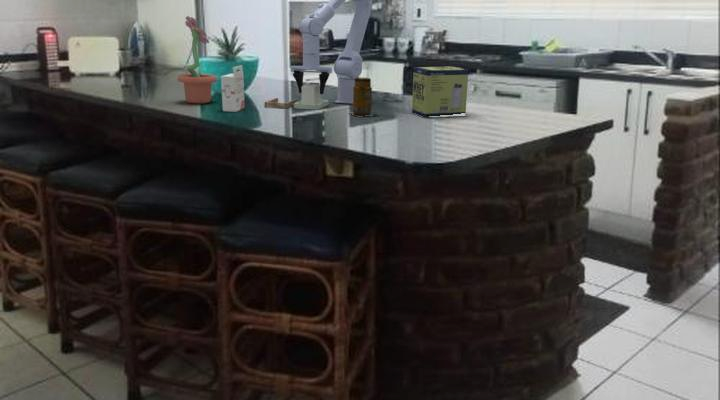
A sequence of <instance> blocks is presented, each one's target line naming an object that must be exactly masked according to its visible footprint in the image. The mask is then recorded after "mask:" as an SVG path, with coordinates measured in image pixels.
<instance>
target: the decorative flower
mask: <svg viewBox="0 0 720 400" xmlns="http://www.w3.org/2000/svg"><path fill="white" fill-rule="evenodd" d="M184 23H185V26H186V27H188V28H189V30H190V32H191V37H192V43H191V53H192V59H193V64H190V65H183V64H182V63H180V65H181V66H183V67H186V70H187V71H188V72H189V73H184V74H183V73H182V74H179V75H178V76H177V82H178V83H183V89H184V97H185V101H186V102H187V103H188V104H195V105H197V104H208V103H210V102H211V99H212V83H213V84H214V83H217V82H218V78H217V75H215V74H208V73H198V72H197V71H196V69H197V68H198V67H201V64H200V58H199V54H198V53H199V52H198V42H199V43H200V42H201V43H202V44H204V45H207V44H210V41H209V39H208V38H207V37H208V36H207V33H206V32H205V31H204V29H203V28H198V24H199V21H198V20H197V19H196V18H194V17H193V16H191V17H190V16H189V15H188V16H185V22H184Z"/></svg>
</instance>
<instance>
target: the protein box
mask: <svg viewBox="0 0 720 400" xmlns="http://www.w3.org/2000/svg"><path fill="white" fill-rule="evenodd" d="M412 81H413V82H412V83H413V84H412V98H411V99H412V100H411V102H412V103H411V104H412V105H411V113H412V112H413V113H416V114H418V115H421V116H423V117H429V116H440V115H453V114H461V113H466V112H467V97H468V96H467V95H468V82H469V69H467V68H462V67H458V66H453V65H451V66H450V65H449V66H423V67H422V66H413V78H412ZM413 113H412V114H413ZM416 114H415V115H416ZM466 114H467V113H466ZM418 115H417V116H418ZM421 116H420V117H421ZM423 117H422V118H423Z"/></svg>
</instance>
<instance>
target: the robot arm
mask: <svg viewBox="0 0 720 400" xmlns="http://www.w3.org/2000/svg"><path fill="white" fill-rule="evenodd" d="M345 1H347V0H329V1H328V2H327V3H326V2H323V3H319V4H317V8H316V9H315V10H314V11H313V12H312V13H310V14H309V17H306V18H305V17H304V18H303V19H302V20H301V22H300V24H299V26H298V30H299V32H300V34H301V39H302V65H291V66H290V73H291V72H292V76H293V79H294V80H295V82H296V85H297V88H298V93H299V94H302V86H304V76H305V75H304V73H318V78H319V84H320V94H321V95H323V94H324V92H325V87H326V84H327V82H328V80H329V77H330V74H332V73H333V72H334V73H335V74H336V78H337V99H336V100H334V103H336V104H351V105H353V88H354V86H355V78H360V76H361V75H362V71H363V60H364V59H363V58H362V56H361V55H360V53H361V52H360V51H361V49H362V45H363V42H364V38H365V33H366V30H367V26H368V22H369V19H370V16H371V12H372V7H373V0H350V2H351V3H352V4H354V6H355V10H354V15H353V18H352V21H351V25H350V29H349V31H348V37H347V40H346V43H345V47H344V50H343V51H341V52H340V53H339V54H338V58H337V59H336V61H334V64H333V66H332V67H329V66H320V35H321V34H322V33H323V31H324V27H325V25H326V24H327V23H328V22H329V21H330V20H331V19H332V18H333V17H334V16H335V10H336V9H338V8H339V7H340V6H342V4H343V3H345Z"/></svg>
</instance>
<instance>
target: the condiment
mask: <svg viewBox="0 0 720 400" xmlns="http://www.w3.org/2000/svg"><path fill="white" fill-rule="evenodd" d="M371 81H372V80H371V78H369V77H359V78H355V86H354V88H353V104H352V113H353V114H352V116H354V117H359V118H364V117H363V116H365V115H370V114H372V104H373V103H372V101H373V100H372V96H373V95H372V94H373V91H372V86H371V85H372V82H371Z"/></svg>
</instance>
